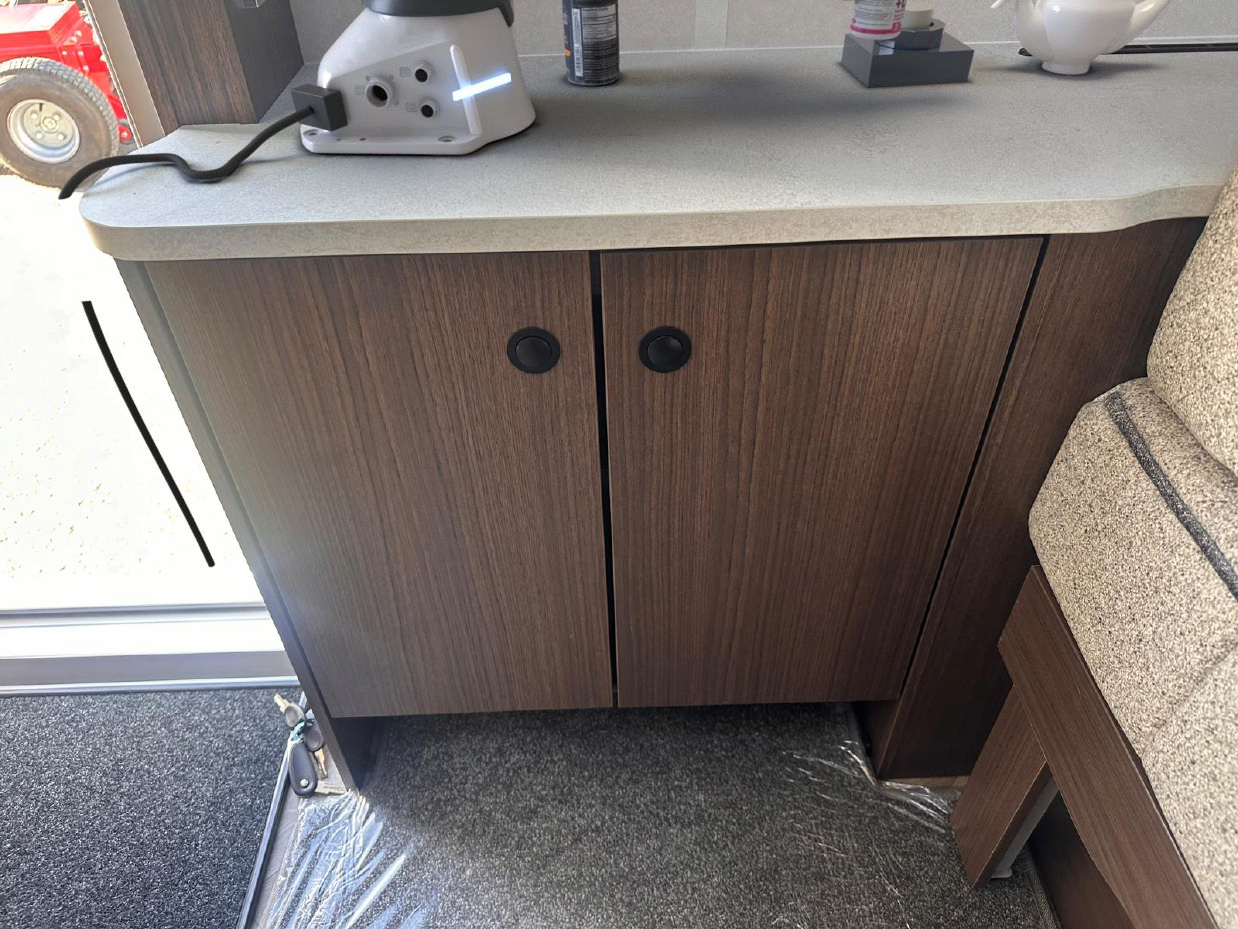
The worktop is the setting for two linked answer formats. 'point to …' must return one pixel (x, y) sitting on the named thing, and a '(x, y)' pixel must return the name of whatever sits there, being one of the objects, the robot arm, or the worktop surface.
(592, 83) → the dark grey can
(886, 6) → the pill bottle
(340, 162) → the worktop surface
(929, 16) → the dispenser button
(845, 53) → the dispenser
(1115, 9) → the teapot
